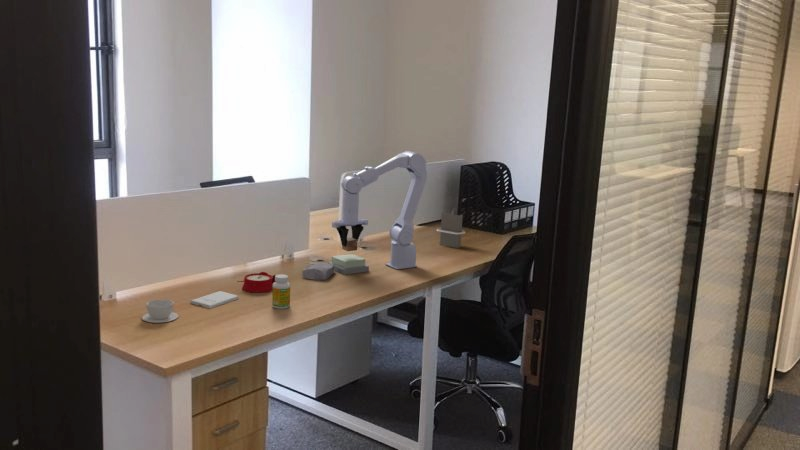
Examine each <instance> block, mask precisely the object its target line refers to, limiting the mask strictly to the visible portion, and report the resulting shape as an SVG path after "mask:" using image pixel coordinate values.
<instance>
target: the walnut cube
mask: <svg viewBox="0 0 800 450" xmlns="http://www.w3.org/2000/svg"><path fill="white" fill-rule="evenodd" d="M357 241H358V242H359V239H358V240H357V239H354V238H352V237H347V244H346V246H342V245H341V246H342V247H341V250H344V251H345V252H353V251H354V252H355V251H357V250H358V242H357Z"/></svg>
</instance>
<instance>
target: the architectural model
mask: <svg viewBox="0 0 800 450" xmlns="http://www.w3.org/2000/svg"><path fill="white" fill-rule="evenodd" d="M463 218H464V215H463V214H460V215H459V214H458V215H457V214H453V213H452V212H449V213H445V212H441V222H440V227H438V228H436V231H437V232H440V236H439V238H440V239H439V245H440V246H444V247H449V248H454V249H460V248H461V247H462V246H461V244H462V234H466V230H463V228H462V227H463Z"/></svg>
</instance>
